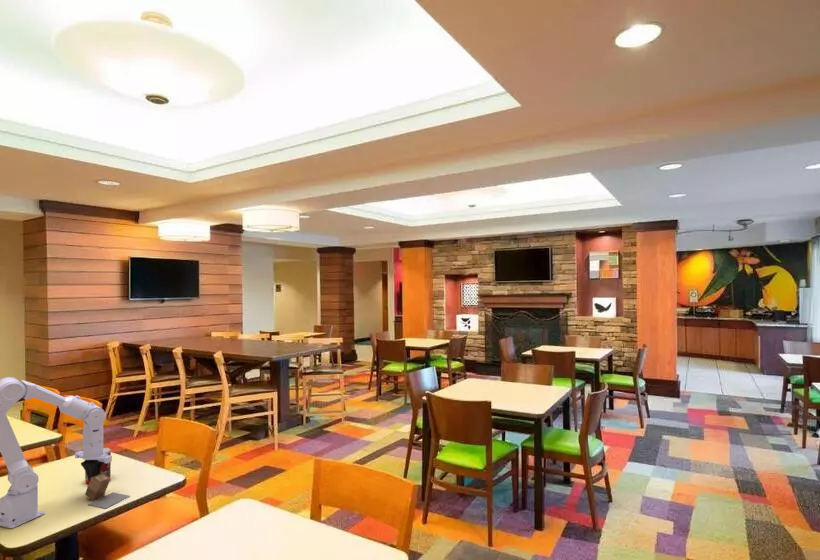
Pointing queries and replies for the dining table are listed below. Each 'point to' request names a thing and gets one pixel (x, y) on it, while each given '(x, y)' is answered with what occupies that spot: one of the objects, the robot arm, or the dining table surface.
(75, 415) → the robot arm
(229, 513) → the dining table surface
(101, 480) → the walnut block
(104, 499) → the felt mat
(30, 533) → the dining table surface
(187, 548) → the dining table surface
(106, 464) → the canned food
